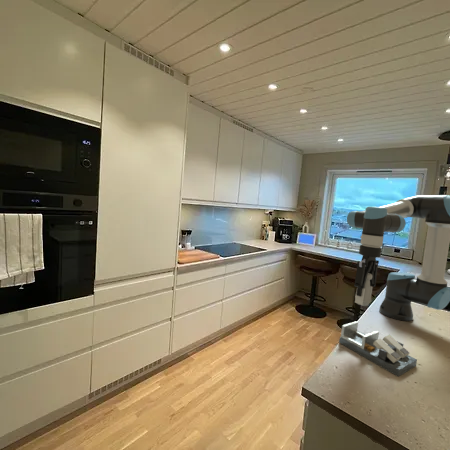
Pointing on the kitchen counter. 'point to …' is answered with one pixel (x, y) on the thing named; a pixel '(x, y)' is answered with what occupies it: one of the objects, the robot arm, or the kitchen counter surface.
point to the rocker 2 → (399, 349)
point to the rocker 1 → (390, 352)
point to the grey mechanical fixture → (374, 349)
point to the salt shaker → (367, 291)
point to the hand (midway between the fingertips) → (362, 302)
